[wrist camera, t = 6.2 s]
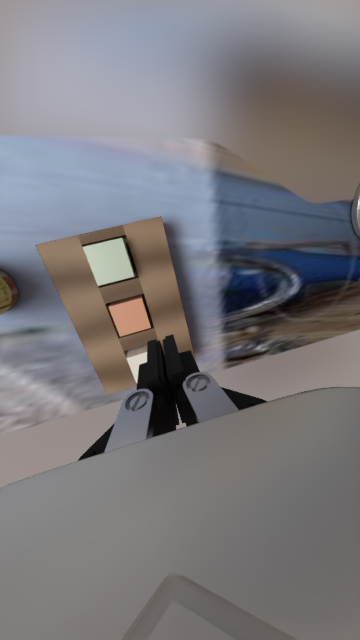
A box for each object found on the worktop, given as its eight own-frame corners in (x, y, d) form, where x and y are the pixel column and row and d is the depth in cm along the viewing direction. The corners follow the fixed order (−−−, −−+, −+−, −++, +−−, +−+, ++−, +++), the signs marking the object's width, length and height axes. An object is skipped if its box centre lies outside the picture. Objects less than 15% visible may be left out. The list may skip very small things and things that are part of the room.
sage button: (89, 248, 22) (82, 247, 19) (124, 240, 22) (122, 237, 20) (103, 282, 23) (97, 285, 21) (135, 274, 24) (134, 276, 21)
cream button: (127, 347, 27) (126, 358, 24) (155, 339, 27) (157, 348, 25) (136, 371, 28) (136, 383, 26) (162, 362, 29) (165, 374, 26)
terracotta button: (112, 301, 25) (108, 306, 23) (141, 293, 26) (141, 297, 23) (122, 328, 27) (120, 336, 24) (150, 320, 27) (151, 327, 24)
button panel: (52, 247, 23) (35, 244, 20) (158, 222, 25) (161, 216, 21) (111, 378, 31) (106, 394, 27) (190, 353, 32) (196, 365, 28)
